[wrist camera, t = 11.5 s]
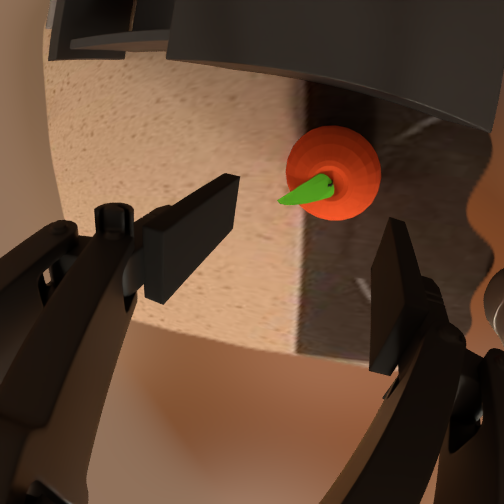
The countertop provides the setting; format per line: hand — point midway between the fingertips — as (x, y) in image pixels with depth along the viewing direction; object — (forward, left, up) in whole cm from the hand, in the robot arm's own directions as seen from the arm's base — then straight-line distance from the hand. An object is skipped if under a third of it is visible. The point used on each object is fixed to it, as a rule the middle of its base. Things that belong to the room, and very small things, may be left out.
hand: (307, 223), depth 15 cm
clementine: (0, 0, -13) cm, 13 cm away
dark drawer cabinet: (-6, -12, -13) cm, 19 cm away
